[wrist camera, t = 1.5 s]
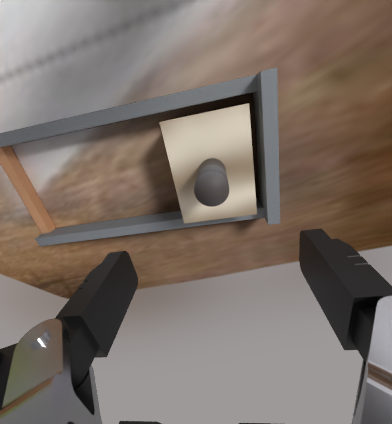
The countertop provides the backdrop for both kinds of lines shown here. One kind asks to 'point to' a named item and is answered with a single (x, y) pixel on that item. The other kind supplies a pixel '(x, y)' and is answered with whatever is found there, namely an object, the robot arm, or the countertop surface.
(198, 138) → the beige block
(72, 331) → the robot arm
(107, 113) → the frame
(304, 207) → the countertop surface
